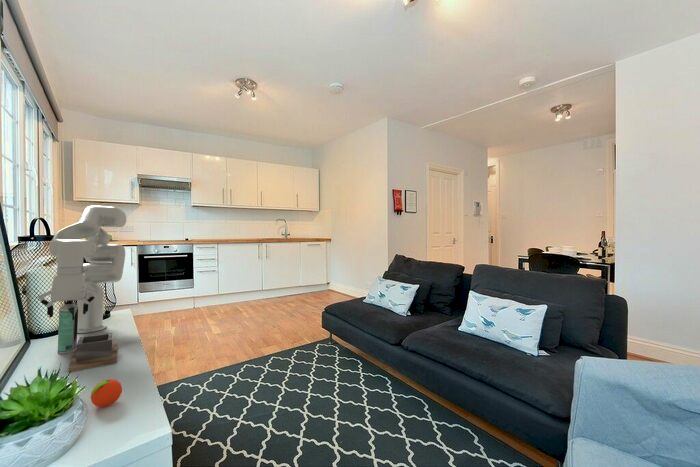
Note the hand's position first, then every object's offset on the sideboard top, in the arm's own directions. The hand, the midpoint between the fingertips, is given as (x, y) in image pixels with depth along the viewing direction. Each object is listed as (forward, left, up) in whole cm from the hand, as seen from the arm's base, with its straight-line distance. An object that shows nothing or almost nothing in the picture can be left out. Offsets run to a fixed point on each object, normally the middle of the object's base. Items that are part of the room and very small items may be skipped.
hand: (68, 315), depth 119 cm
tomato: (+53, +13, -15) cm, 57 cm away
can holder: (+12, +9, -14) cm, 21 cm away
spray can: (-1, 0, -15) cm, 15 cm away
